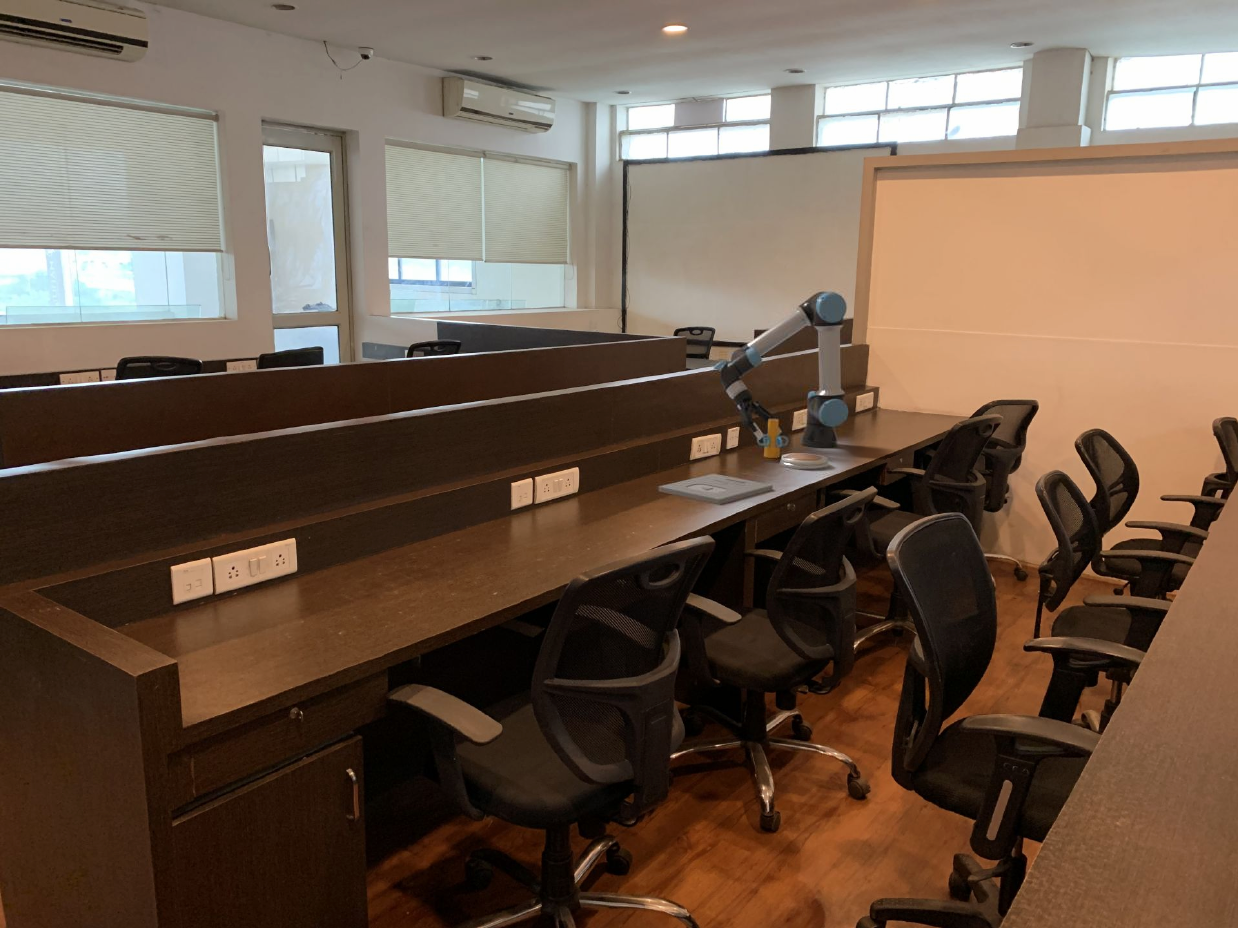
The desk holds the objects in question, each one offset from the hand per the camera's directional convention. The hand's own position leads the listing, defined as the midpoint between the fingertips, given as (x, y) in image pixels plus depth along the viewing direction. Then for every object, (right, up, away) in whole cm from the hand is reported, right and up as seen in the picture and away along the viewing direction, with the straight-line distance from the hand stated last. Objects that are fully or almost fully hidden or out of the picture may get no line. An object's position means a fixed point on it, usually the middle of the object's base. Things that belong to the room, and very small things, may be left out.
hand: (770, 435), depth 366 cm
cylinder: (+1, -8, +2) cm, 9 cm away
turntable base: (+10, -12, -14) cm, 21 cm away
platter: (+10, -10, -14) cm, 20 cm away
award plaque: (-28, -21, -58) cm, 68 cm away
